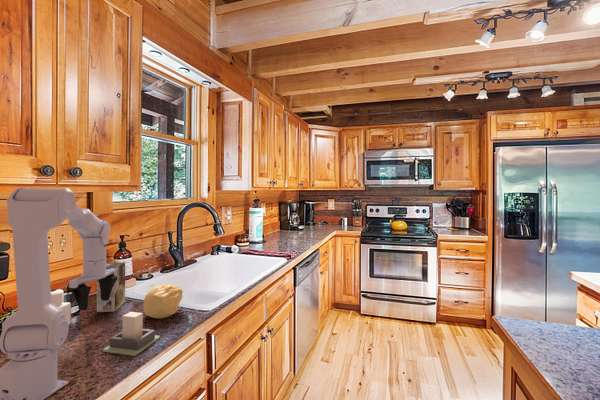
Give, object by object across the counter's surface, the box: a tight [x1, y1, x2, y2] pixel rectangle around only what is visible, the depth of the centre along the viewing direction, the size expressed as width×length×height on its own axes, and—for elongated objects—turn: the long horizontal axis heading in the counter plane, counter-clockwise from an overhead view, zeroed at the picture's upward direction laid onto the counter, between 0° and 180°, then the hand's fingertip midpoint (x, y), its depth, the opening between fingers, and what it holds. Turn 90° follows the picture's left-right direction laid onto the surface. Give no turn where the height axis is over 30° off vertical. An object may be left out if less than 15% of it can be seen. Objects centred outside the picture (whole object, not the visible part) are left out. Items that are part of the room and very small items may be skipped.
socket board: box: [102, 328, 161, 357], centre depth 83 cm, size 10×10×3 cm
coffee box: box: [96, 261, 126, 313], centre depth 109 cm, size 9×6×16 cm
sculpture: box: [143, 283, 183, 319], centre depth 103 cm, size 12×12×11 cm
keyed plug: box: [121, 311, 144, 339], centre depth 83 cm, size 3×5×8 cm, turn 79°
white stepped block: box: [50, 288, 72, 325], centre depth 91 cm, size 7×7×12 cm
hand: (94, 304), depth 87 cm, fingers open, 7 cm apart
